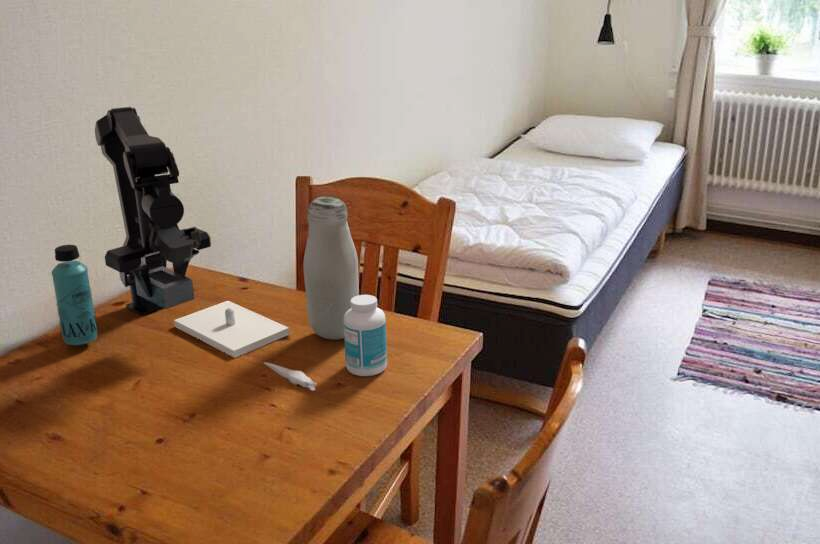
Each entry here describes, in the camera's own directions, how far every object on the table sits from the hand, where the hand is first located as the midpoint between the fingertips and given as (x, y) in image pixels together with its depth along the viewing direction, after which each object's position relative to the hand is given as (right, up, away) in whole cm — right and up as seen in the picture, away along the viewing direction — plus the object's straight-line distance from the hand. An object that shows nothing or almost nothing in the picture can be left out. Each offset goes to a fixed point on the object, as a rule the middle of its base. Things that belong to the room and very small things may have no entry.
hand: (165, 291), depth 151 cm
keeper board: (+10, -8, +9) cm, 16 cm away
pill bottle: (+38, -14, -5) cm, 41 cm away
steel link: (0, -1, 0) cm, 1 cm away
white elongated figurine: (+24, -15, -8) cm, 30 cm away
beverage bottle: (-17, -10, +4) cm, 21 cm away
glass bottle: (+31, -9, +7) cm, 33 cm away
